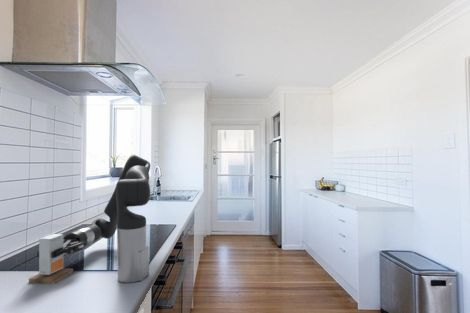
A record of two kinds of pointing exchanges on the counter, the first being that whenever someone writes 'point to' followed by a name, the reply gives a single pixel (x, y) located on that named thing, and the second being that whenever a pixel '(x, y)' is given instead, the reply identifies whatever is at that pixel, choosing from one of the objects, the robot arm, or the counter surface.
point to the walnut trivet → (51, 276)
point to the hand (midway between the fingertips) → (45, 254)
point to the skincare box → (45, 249)
